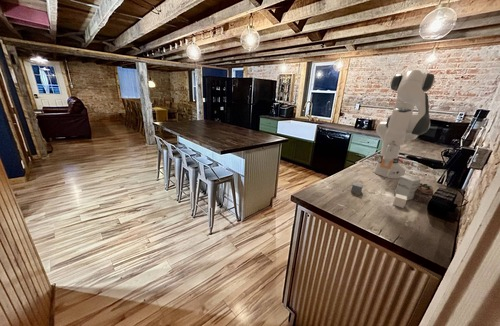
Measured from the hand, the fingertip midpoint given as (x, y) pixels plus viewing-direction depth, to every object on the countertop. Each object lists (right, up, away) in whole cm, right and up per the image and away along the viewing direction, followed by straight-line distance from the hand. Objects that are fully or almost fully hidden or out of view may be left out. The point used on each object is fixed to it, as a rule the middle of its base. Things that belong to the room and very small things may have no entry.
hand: (386, 164), depth 111 cm
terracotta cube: (0, -2, +1) cm, 2 cm away
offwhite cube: (+8, -23, +1) cm, 24 cm away
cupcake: (+25, -21, +8) cm, 34 cm away
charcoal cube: (-10, -17, +13) cm, 24 cm away
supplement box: (+17, -20, +10) cm, 28 cm away
